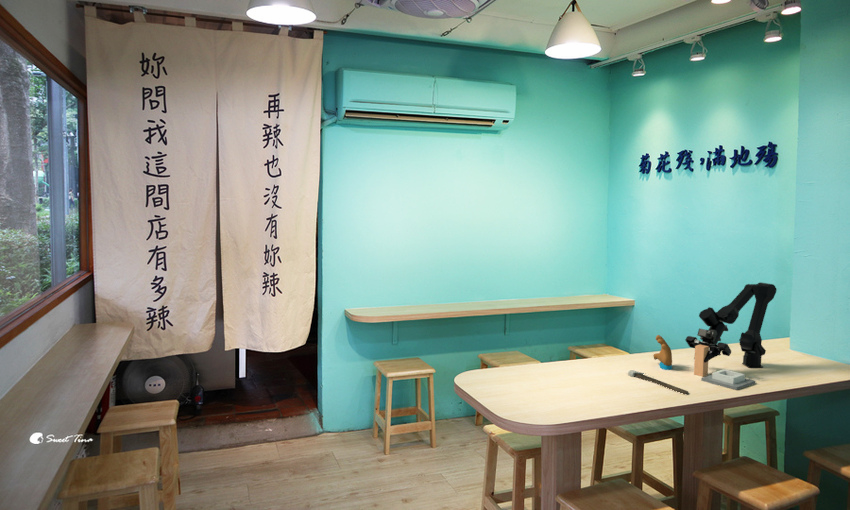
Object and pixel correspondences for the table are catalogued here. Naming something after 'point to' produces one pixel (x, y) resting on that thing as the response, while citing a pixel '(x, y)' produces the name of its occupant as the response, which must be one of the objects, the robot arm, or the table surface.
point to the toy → (664, 354)
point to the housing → (728, 379)
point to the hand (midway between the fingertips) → (699, 360)
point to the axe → (656, 381)
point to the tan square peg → (701, 360)
